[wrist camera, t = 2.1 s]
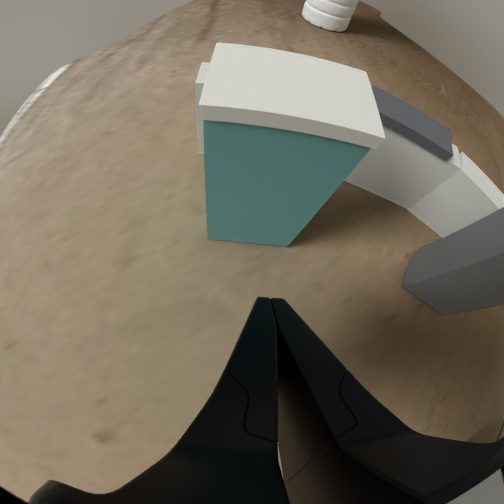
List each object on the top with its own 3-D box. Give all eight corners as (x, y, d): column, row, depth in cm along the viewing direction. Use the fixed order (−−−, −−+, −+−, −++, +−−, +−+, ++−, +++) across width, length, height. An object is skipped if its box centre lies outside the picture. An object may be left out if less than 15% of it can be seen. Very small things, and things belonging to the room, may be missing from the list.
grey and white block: (442, 316, 18) (564, 292, 7) (400, 286, 18) (533, 240, 7) (452, 281, 19) (563, 243, 8) (411, 250, 19) (529, 188, 8)
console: (467, 221, 22) (523, 190, 14) (467, 259, 20) (530, 234, 13) (212, 114, 21) (216, 35, 13) (192, 152, 19) (187, 70, 12)
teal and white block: (288, 248, 18) (385, 138, 7) (206, 240, 18) (198, 105, 6) (289, 202, 19) (366, 72, 8) (212, 194, 18) (216, 42, 7)
